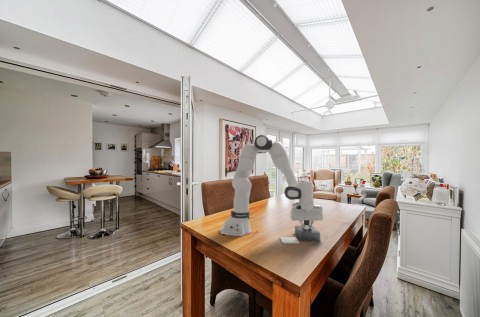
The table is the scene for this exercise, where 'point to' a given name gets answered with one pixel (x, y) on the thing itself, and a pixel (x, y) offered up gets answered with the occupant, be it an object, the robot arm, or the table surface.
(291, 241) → the set down mat
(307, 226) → the chuck key
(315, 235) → the block
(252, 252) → the table surface
